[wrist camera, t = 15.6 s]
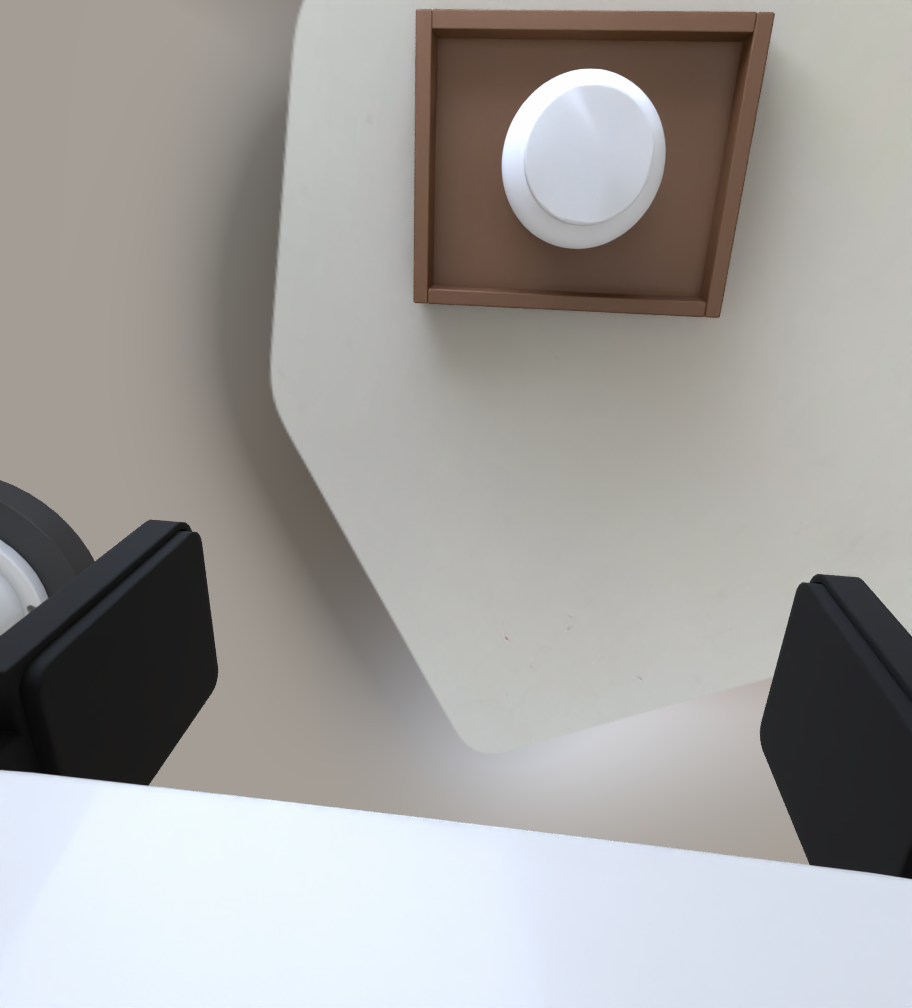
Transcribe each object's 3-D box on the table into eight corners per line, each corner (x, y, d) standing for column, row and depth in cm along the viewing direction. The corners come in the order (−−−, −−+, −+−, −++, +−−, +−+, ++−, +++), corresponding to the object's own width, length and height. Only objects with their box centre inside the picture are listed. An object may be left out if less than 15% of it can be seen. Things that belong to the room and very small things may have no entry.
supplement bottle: (586, 266, 38) (606, 290, 26) (486, 198, 37) (461, 192, 26) (662, 150, 35) (722, 120, 24) (556, 75, 35) (565, 5, 23)
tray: (420, 297, 40) (413, 302, 38) (423, 22, 35) (415, 8, 33) (709, 311, 39) (719, 317, 36) (759, 25, 33) (775, 11, 31)
